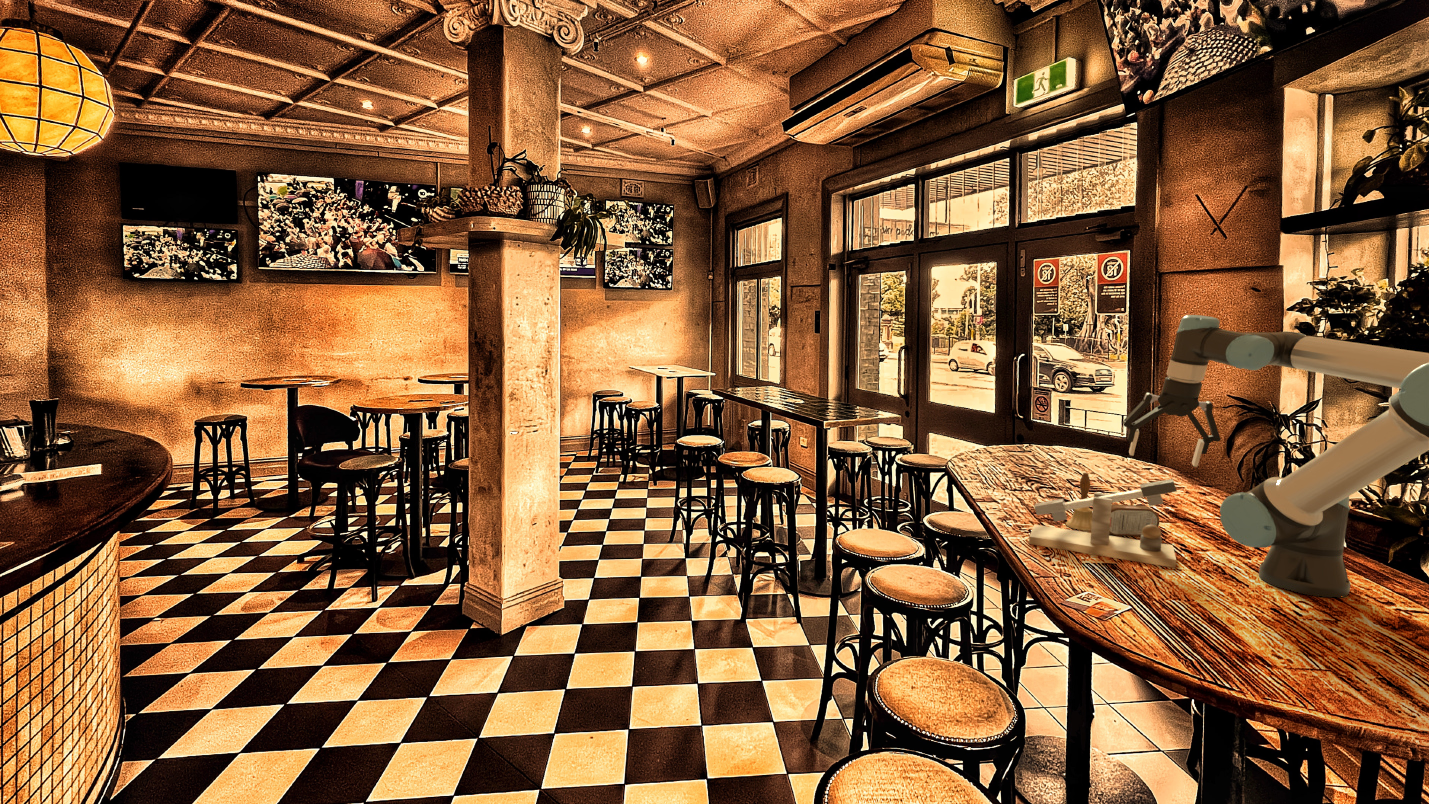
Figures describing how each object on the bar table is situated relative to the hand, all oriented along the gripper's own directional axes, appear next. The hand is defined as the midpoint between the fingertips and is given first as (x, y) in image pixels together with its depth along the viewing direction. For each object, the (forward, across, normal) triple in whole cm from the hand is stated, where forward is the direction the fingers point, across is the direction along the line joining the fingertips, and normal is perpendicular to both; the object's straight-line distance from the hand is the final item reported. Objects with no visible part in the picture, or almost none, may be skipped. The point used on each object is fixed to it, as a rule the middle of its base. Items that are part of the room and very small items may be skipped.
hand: (1162, 459), depth 162 cm
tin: (+26, +1, -8) cm, 28 cm away
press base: (+25, +10, +7) cm, 28 cm away
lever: (+15, +10, +6) cm, 19 cm away
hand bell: (+28, +12, -11) cm, 32 cm away
